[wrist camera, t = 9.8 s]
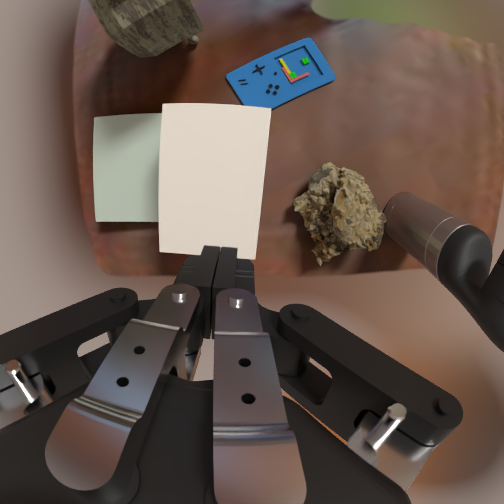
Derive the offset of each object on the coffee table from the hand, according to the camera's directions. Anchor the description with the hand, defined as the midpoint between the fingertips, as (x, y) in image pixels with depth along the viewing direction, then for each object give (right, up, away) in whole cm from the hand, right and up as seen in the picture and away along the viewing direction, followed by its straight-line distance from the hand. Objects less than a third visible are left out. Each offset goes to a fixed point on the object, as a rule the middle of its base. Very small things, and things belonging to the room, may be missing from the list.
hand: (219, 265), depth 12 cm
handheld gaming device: (+6, +27, +23) cm, 36 cm away
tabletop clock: (-12, +36, +19) cm, 42 cm away
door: (-10, +13, +27) cm, 32 cm away
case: (-4, +13, +29) cm, 32 cm away
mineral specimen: (+14, +8, +32) cm, 36 cm away
